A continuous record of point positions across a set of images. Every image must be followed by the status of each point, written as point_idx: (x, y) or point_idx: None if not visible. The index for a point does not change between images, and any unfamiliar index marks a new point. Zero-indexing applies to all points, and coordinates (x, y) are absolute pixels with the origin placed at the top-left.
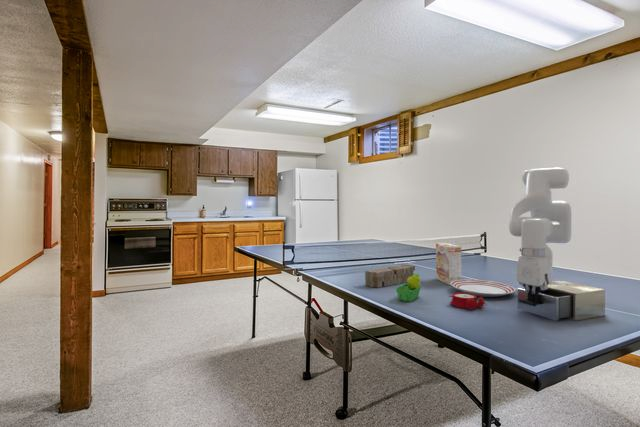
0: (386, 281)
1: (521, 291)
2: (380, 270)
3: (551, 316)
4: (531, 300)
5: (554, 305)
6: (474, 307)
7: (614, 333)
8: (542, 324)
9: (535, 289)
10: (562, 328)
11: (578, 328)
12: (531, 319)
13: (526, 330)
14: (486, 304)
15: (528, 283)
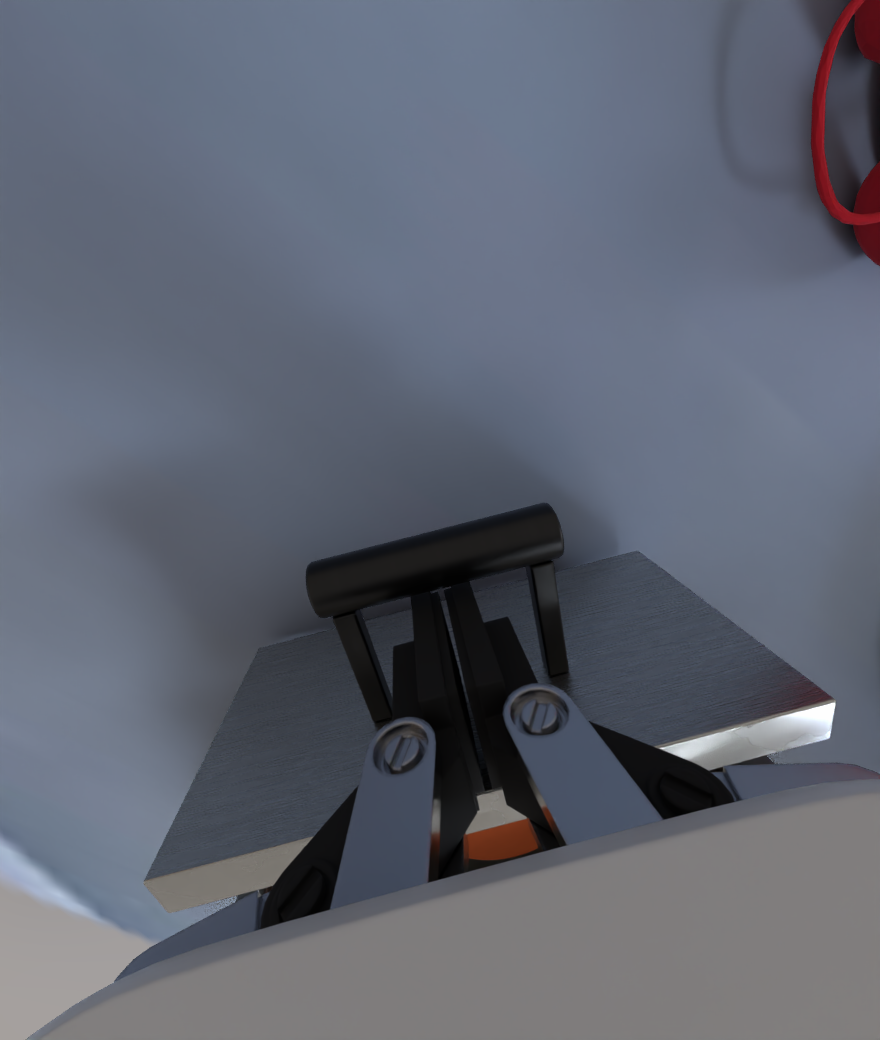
0: None
1: (736, 692)
2: None
3: (294, 653)
4: (414, 620)
5: (221, 761)
6: (870, 21)
7: (59, 835)
8: (244, 515)
9: (352, 836)
10: (138, 605)
11: (148, 708)
12: (389, 510)
13: (24, 209)
14: (830, 204)
15: (446, 927)
